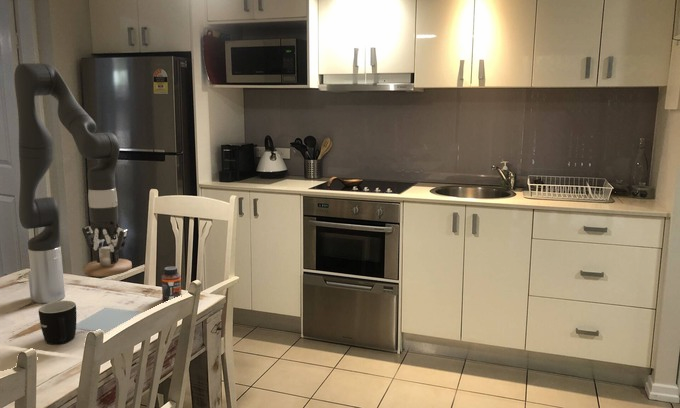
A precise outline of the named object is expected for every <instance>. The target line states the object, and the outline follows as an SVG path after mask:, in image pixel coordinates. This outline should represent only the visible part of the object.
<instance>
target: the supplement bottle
mask: <svg viewBox="0 0 680 408" xmlns="http://www.w3.org/2000/svg"><path fill="white" fill-rule="evenodd" d="M163 271H164V274H162V275H161V292H162V293H161V295H162V302H164V303H166V302H165V301H168V300H171V299H173V298H175V297H178V296H180V295H181V296H182V276H181V274H180V273H179V272H178V267H177V266H166V267H164V270H163Z"/></svg>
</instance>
